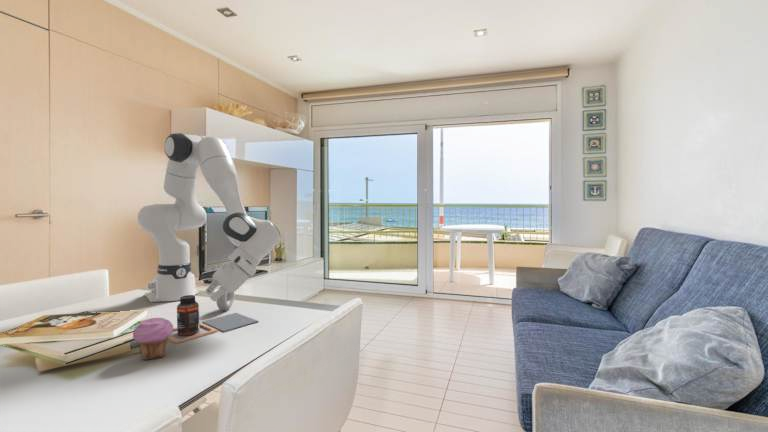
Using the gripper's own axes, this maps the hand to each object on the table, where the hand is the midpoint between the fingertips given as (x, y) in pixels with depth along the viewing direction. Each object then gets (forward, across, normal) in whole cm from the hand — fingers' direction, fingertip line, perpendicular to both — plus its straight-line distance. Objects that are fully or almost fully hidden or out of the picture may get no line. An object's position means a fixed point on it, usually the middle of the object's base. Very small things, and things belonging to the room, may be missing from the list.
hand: (209, 296), depth 113 cm
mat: (+3, -3, +12) cm, 13 cm away
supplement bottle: (+12, 0, +3) cm, 12 cm away
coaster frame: (+12, 0, +3) cm, 12 cm away
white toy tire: (+2, -18, +13) cm, 23 cm away
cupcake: (+18, +14, -3) cm, 23 cm away
